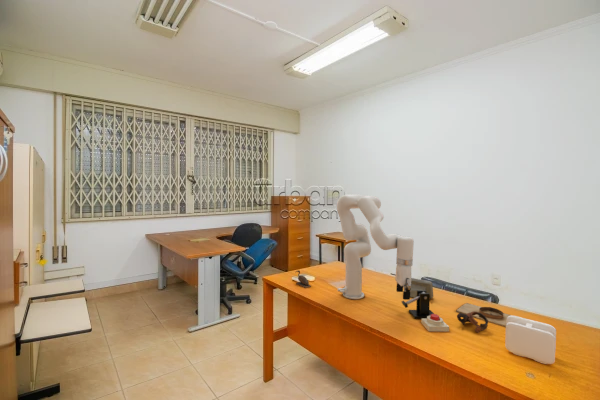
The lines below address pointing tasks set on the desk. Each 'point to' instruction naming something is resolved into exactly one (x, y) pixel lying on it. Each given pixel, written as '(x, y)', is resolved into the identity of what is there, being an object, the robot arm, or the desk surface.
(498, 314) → the board
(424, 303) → the bracket
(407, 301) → the lever
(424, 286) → the digital clock
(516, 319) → the cable organizer
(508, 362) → the desk surface
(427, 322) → the control block
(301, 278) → the figurine
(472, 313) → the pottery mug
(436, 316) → the button
